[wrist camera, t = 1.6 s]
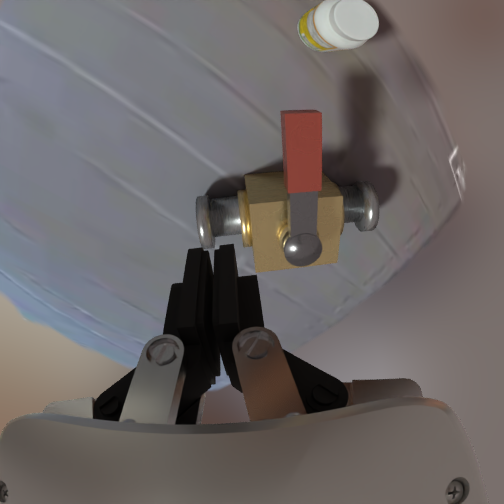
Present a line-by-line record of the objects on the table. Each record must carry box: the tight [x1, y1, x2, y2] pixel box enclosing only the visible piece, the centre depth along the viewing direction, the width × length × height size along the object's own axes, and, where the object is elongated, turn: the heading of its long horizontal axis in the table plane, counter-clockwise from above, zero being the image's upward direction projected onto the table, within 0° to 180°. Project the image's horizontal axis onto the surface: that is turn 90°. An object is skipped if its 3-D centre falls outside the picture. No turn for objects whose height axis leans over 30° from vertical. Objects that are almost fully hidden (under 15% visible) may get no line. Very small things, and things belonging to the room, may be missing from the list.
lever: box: [281, 110, 322, 267], centre depth 24 cm, size 14×4×2 cm, turn 5°
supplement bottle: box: [298, 0, 379, 52], centre depth 20 cm, size 5×5×10 cm
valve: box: [196, 171, 379, 273], centre depth 32 cm, size 20×8×9 cm, turn 95°
